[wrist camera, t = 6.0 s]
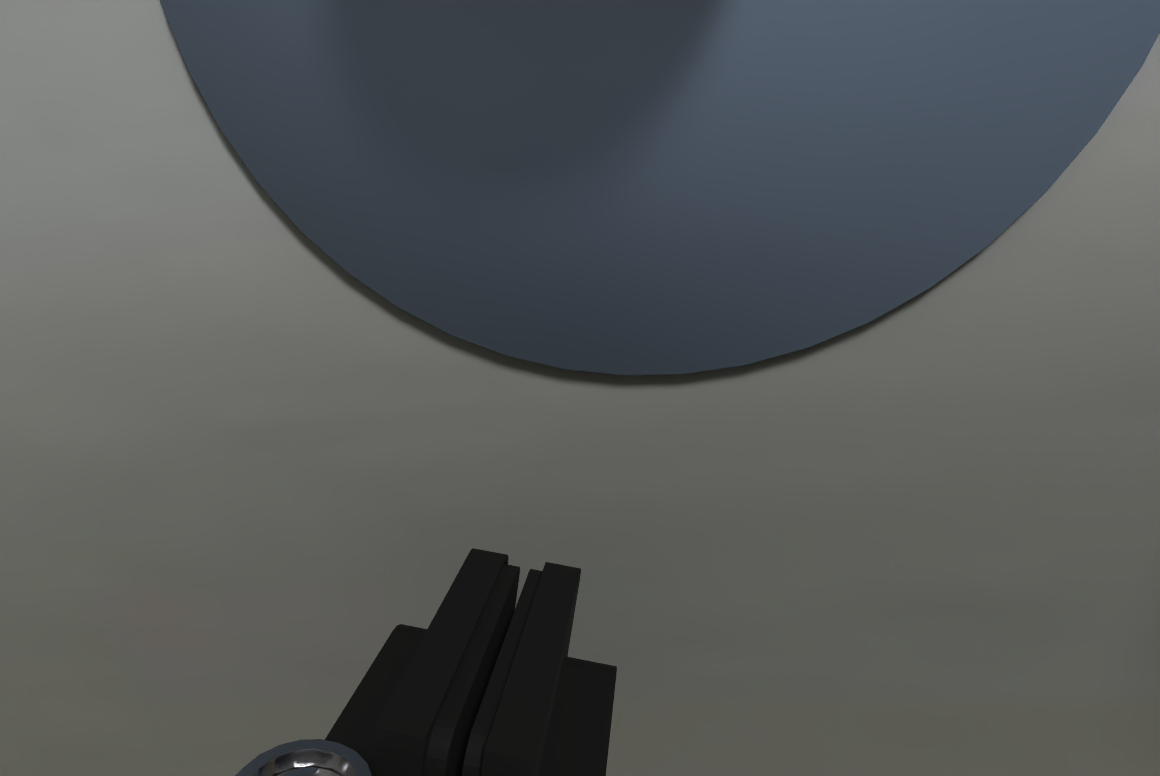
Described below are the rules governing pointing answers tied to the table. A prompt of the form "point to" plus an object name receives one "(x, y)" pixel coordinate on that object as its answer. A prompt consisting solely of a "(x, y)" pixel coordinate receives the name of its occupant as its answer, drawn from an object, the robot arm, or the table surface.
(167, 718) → the table surface
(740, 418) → the table surface
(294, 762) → the robot arm
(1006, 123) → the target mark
